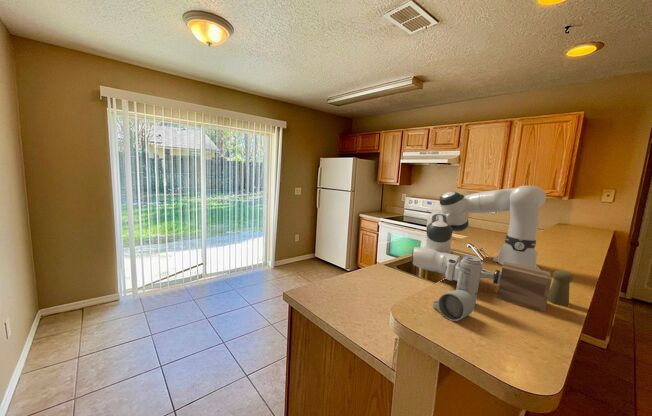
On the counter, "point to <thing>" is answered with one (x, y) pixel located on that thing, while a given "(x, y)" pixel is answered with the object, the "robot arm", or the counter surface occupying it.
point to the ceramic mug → (455, 305)
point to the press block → (524, 286)
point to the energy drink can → (469, 275)
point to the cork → (560, 288)
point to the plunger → (497, 277)
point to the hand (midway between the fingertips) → (494, 276)
